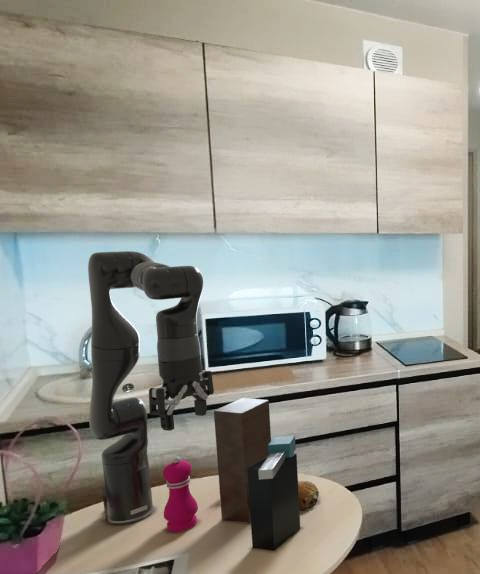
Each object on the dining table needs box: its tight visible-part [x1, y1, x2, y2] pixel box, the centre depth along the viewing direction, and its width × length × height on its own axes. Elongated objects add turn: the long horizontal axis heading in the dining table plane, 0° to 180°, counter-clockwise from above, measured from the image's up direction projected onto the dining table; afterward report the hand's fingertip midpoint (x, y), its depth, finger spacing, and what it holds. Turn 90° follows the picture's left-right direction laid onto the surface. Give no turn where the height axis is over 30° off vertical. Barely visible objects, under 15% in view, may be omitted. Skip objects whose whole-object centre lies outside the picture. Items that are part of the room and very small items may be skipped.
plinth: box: [213, 397, 272, 524], centre depth 160 cm, size 8×10×32 cm
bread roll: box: [298, 480, 320, 511], centre depth 169 cm, size 10×10×8 cm
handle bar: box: [258, 435, 297, 480], centre depth 147 cm, size 5×16×4 cm, turn 17°
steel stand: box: [247, 452, 301, 551], centre depth 150 cm, size 6×10×22 cm, turn 175°
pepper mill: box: [162, 456, 199, 533], centre depth 153 cm, size 7×7×20 cm
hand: (185, 422), depth 132 cm, fingers open, 8 cm apart
